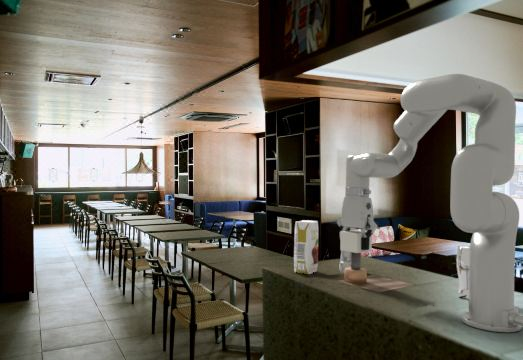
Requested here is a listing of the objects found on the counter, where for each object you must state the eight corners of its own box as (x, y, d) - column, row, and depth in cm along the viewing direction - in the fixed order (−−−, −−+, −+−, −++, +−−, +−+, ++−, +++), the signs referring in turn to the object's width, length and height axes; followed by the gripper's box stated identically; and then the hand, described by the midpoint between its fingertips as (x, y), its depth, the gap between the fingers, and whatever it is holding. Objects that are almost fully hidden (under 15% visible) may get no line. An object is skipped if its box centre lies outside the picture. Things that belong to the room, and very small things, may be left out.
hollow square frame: (371, 251, 138) (371, 232, 138) (356, 253, 134) (357, 233, 134) (354, 248, 144) (355, 230, 144) (340, 249, 140) (340, 231, 140)
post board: (415, 289, 136) (416, 248, 136) (378, 297, 126) (379, 252, 126) (372, 279, 150) (373, 242, 150) (336, 285, 139) (337, 245, 139)
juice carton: (291, 272, 158) (292, 221, 159) (300, 269, 166) (302, 219, 166) (310, 275, 155) (311, 222, 155) (319, 271, 162) (320, 220, 162)
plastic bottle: (357, 276, 154) (358, 220, 154) (338, 275, 155) (339, 220, 156) (357, 273, 160) (358, 219, 161) (339, 271, 162) (340, 218, 162)
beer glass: (472, 302, 123) (473, 249, 123) (450, 296, 129) (451, 246, 129) (486, 299, 126) (487, 248, 127) (464, 293, 132) (465, 244, 132)
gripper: (386, 194, 134) (385, 251, 134) (345, 192, 148) (343, 243, 148) (370, 193, 130) (369, 252, 130) (329, 192, 144) (328, 245, 144)
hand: (355, 247), depth 139 cm, fingers closed on hollow square frame, 7 cm apart
